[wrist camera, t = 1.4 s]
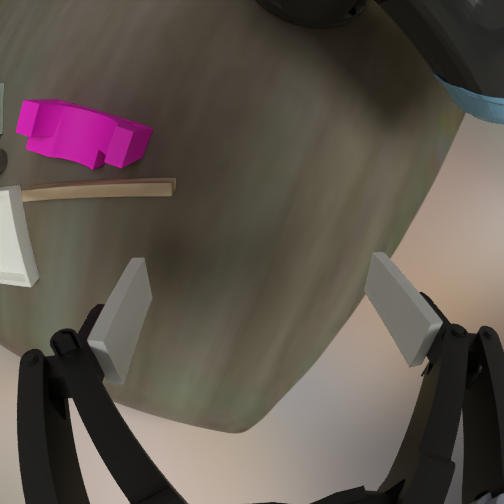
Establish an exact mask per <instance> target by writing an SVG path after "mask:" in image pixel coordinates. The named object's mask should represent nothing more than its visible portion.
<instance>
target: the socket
mask: <svg viewBox="0 0 504 504" xmlns="http://www.w3.org/2000/svg"><path fill="white" fill-rule="evenodd" d="M3 94H4V83H0V134H3Z"/></svg>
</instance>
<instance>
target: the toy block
mask: <svg viewBox="0 0 504 504" xmlns="http://www.w3.org/2000/svg"><path fill="white" fill-rule="evenodd" d="M152 131H153V128H151V127H148V126H145V125H142V124H139V123H136V122H133V121H130V120H127V119H124V118H120V117H117V116H114V115H111V114H108V113H104V112H101V111H98V110H94V109H91V108H87V107H84V106H80V105H76V104H73V103H69V102H65V101H61V100H57V99H45V100H24V102H23V105H22V109H21V113H20V117H19V121H18V125H17V129H16V133H19V134H23V135H26V136H29V138H28V142H27V147H26V149H28V150H31V151H33V152H36V153H39V154H42V155H45V156H48V157H56V158H62V159H67V160H71V161H75V162H78V163H80V164H83V165H85V166H87V167H89V168H91V169H92V170H94V169H96V168H98V167H100V166H102V165H104V164H105V163H108V164H111V165H113V166H116V167H119V168H123V167H125V166H127V165H129V164H131V163H133V162H135V161H137V160H139V159H141V158H143V155H144V152H145V149H146V147H147V144H148V141H149V139H150V136H151V133H152Z"/></svg>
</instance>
